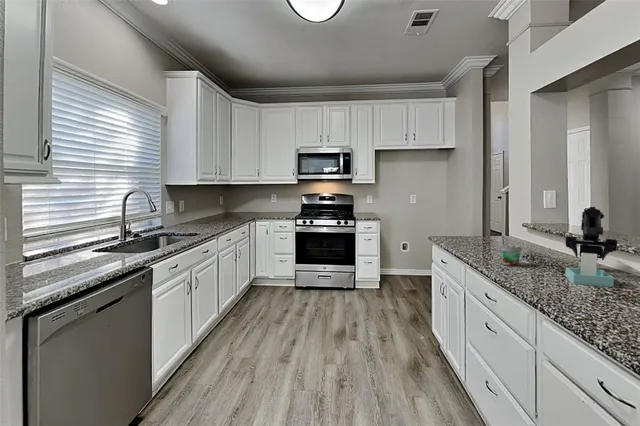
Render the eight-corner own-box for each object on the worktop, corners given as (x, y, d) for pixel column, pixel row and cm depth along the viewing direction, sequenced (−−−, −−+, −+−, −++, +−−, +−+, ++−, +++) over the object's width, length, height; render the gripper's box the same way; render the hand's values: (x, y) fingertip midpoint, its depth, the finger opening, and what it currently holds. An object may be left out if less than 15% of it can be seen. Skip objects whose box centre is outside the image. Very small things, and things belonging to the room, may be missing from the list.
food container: (513, 268, 177) (514, 248, 176) (501, 265, 182) (502, 246, 182) (526, 264, 184) (526, 246, 183) (514, 262, 189) (514, 244, 188)
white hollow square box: (580, 279, 151) (581, 254, 151) (580, 277, 156) (581, 252, 155) (595, 281, 148) (597, 256, 147) (596, 278, 152) (597, 254, 151)
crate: (565, 275, 161) (565, 267, 161) (601, 278, 156) (602, 269, 155) (573, 283, 148) (573, 274, 148) (613, 286, 143) (613, 277, 143)
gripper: (566, 219, 166) (563, 245, 158) (618, 221, 154) (617, 250, 146) (567, 233, 173) (564, 259, 165) (616, 236, 161) (616, 264, 153)
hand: (589, 258), depth 157 cm, fingers open, 9 cm apart
